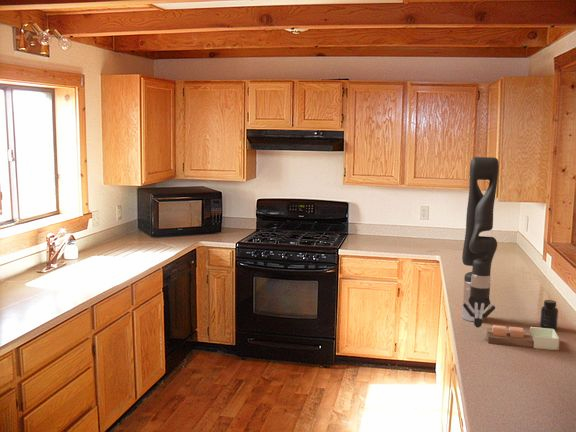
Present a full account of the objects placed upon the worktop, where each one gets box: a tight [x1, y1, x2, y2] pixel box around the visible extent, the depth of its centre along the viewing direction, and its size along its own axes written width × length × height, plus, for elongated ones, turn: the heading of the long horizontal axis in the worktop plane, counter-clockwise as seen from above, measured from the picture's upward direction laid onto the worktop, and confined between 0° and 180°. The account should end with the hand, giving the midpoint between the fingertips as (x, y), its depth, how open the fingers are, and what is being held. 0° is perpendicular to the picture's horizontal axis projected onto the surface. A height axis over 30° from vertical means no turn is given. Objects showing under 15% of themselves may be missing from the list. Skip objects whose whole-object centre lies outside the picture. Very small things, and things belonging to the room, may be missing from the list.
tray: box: [529, 326, 560, 351], centre depth 247 cm, size 12×9×5 cm
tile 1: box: [491, 324, 507, 336], centre depth 250 cm, size 5×5×2 cm
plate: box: [485, 327, 534, 349], centre depth 250 cm, size 11×17×2 cm, turn 76°
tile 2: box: [508, 326, 525, 338], centre depth 249 cm, size 5×5×2 cm
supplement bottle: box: [539, 299, 559, 331], centre depth 265 cm, size 7×7×12 cm
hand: (477, 326), depth 252 cm, fingers closed
